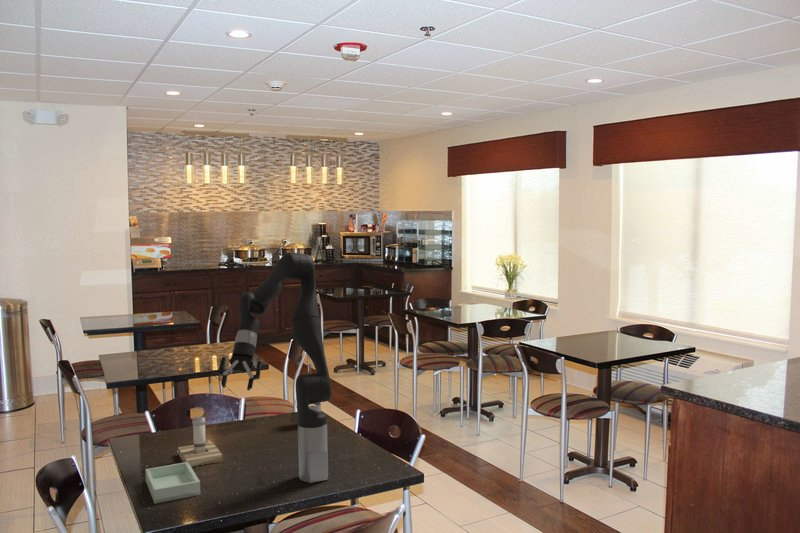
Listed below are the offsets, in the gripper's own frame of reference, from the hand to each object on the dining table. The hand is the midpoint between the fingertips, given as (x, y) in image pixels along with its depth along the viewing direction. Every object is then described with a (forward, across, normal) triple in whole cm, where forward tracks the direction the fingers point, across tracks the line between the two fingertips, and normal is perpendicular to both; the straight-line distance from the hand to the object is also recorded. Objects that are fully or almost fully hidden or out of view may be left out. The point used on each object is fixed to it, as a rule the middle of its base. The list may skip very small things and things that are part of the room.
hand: (236, 388), depth 226 cm
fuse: (+22, -10, +15) cm, 28 cm away
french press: (-2, +25, +46) cm, 52 cm away
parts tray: (+36, -12, -8) cm, 39 cm away
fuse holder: (+22, -10, +15) cm, 28 cm away
